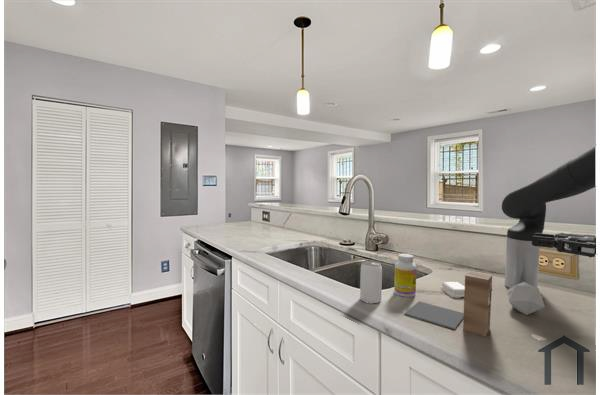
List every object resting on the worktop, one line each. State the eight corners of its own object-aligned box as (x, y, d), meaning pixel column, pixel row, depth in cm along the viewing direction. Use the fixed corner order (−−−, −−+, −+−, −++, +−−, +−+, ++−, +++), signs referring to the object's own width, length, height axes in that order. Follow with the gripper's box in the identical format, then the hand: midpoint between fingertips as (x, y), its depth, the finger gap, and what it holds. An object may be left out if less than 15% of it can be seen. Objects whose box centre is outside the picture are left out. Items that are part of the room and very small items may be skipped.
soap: (439, 288, 107) (439, 280, 106) (458, 288, 107) (458, 280, 107) (452, 299, 98) (452, 290, 97) (473, 298, 98) (473, 289, 98)
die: (515, 304, 94) (498, 280, 93) (548, 297, 89) (530, 271, 88) (519, 324, 88) (501, 298, 87) (554, 317, 83) (535, 290, 82)
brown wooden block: (467, 322, 81) (470, 270, 80) (491, 329, 78) (493, 275, 77) (463, 329, 77) (465, 275, 76) (487, 337, 74) (489, 280, 73)
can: (375, 306, 91) (375, 266, 91) (356, 300, 96) (356, 262, 95) (385, 299, 96) (385, 262, 95) (366, 294, 101) (367, 258, 100)
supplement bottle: (415, 299, 97) (416, 258, 96) (393, 296, 99) (394, 256, 98) (415, 291, 103) (416, 253, 102) (394, 288, 105) (395, 252, 104)
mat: (418, 302, 94) (418, 301, 94) (465, 315, 86) (465, 313, 86) (404, 314, 86) (404, 313, 86) (454, 330, 77) (454, 328, 77)
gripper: (637, 227, 66) (536, 219, 77) (650, 237, 55) (530, 226, 66) (634, 261, 66) (534, 249, 77) (647, 278, 55) (529, 261, 67)
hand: (533, 239), depth 72 cm, fingers open, 4 cm apart
